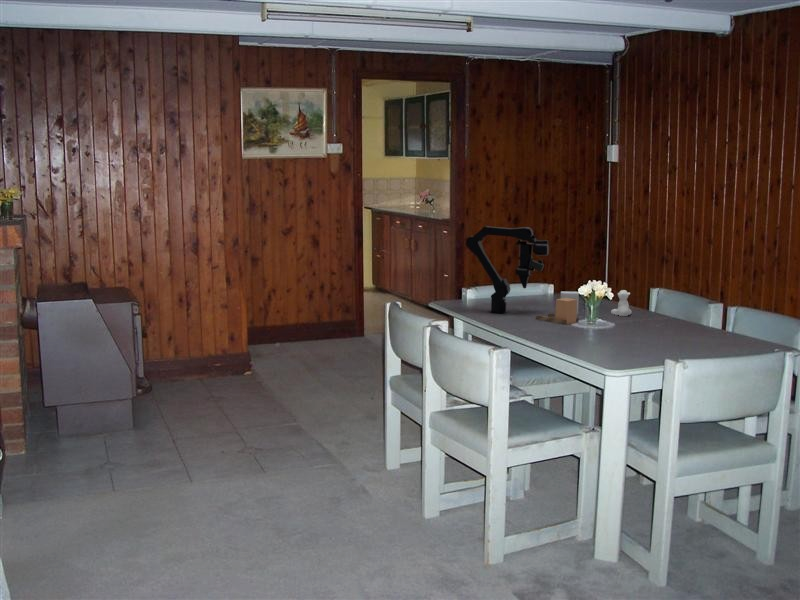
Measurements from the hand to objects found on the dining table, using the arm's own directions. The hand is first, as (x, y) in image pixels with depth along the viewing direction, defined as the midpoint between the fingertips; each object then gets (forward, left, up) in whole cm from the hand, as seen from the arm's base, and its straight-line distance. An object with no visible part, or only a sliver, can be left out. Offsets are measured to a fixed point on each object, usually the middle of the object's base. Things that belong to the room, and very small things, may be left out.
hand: (524, 288), depth 403 cm
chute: (+18, -17, -12) cm, 28 cm away
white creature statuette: (+44, +13, -12) cm, 47 cm away
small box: (+20, +6, -12) cm, 24 cm away
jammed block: (+21, -19, -11) cm, 31 cm away
